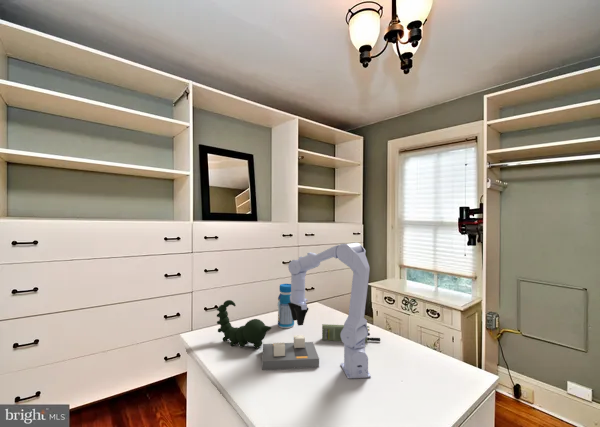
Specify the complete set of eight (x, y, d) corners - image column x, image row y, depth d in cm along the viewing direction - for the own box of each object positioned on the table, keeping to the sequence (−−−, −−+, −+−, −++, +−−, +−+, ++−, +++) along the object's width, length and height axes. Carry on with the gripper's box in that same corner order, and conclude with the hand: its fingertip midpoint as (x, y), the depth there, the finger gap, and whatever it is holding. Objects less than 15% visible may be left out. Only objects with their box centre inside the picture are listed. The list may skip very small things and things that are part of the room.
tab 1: (284, 355, 101) (285, 346, 102) (273, 356, 101) (273, 346, 101) (284, 352, 104) (284, 342, 105) (273, 352, 104) (273, 343, 104)
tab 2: (304, 347, 108) (304, 338, 108) (294, 348, 108) (294, 338, 108) (303, 344, 111) (303, 335, 111) (293, 344, 111) (293, 335, 111)
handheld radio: (322, 338, 126) (379, 340, 124) (322, 341, 123) (381, 344, 120) (322, 323, 126) (379, 325, 124) (322, 326, 123) (381, 328, 120)
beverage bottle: (284, 330, 134) (285, 287, 135) (274, 325, 140) (274, 284, 141) (297, 325, 140) (298, 285, 140) (287, 321, 146) (287, 282, 146)
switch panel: (319, 367, 100) (319, 358, 100) (262, 370, 98) (262, 361, 98) (312, 349, 114) (312, 341, 114) (262, 351, 112) (262, 343, 112)
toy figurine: (213, 349, 118) (267, 354, 109) (211, 302, 119) (264, 304, 110) (227, 340, 126) (277, 344, 118) (224, 297, 127) (274, 298, 119)
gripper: (314, 292, 110) (313, 327, 110) (300, 284, 124) (300, 315, 123) (297, 293, 108) (296, 329, 107) (285, 285, 121) (285, 317, 121)
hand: (297, 322), depth 115 cm, fingers open, 5 cm apart
